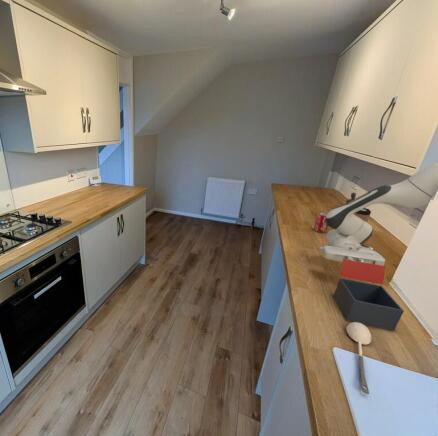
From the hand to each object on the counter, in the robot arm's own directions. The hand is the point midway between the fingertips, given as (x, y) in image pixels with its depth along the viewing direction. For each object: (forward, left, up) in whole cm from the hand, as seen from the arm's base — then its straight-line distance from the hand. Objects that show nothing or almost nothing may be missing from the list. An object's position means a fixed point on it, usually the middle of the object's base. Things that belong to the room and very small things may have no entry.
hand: (359, 265), depth 92 cm
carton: (+5, +10, -13) cm, 17 cm away
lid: (+2, +3, 0) cm, 4 cm away
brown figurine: (-81, -88, -13) cm, 120 cm away
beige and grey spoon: (+22, +28, -10) cm, 37 cm away
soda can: (-36, -62, -13) cm, 72 cm away
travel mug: (-46, -48, -13) cm, 67 cm away
